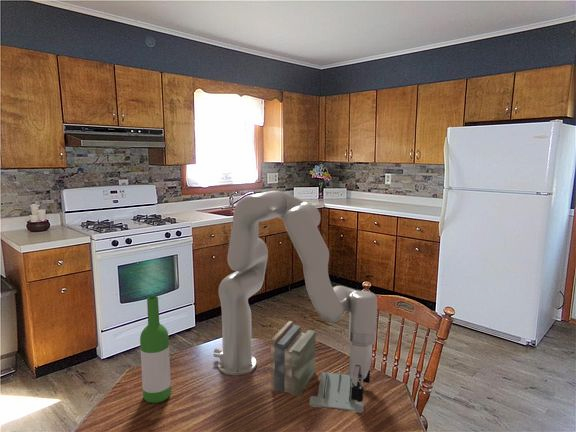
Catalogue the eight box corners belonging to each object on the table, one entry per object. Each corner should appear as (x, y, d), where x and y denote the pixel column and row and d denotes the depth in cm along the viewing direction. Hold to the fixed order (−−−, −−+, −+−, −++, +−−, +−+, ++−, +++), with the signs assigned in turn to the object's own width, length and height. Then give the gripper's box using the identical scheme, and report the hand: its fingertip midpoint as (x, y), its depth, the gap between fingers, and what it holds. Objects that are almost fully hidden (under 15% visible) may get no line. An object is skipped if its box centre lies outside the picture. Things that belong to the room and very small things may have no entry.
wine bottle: (137, 398, 116) (131, 298, 111) (159, 385, 122) (155, 290, 118) (154, 408, 112) (149, 304, 107) (176, 394, 118) (173, 296, 113)
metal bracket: (315, 364, 124) (364, 370, 121) (315, 378, 127) (364, 384, 124) (308, 403, 112) (363, 410, 109) (309, 418, 114) (363, 425, 111)
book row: (271, 389, 121) (270, 339, 118) (289, 366, 134) (289, 320, 131) (299, 396, 117) (299, 345, 115) (314, 372, 130) (315, 325, 128)
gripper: (356, 321, 124) (354, 372, 127) (341, 345, 108) (340, 404, 111) (380, 325, 121) (378, 377, 124) (369, 351, 105) (367, 410, 108)
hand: (360, 390), depth 117 cm, fingers open, 9 cm apart
